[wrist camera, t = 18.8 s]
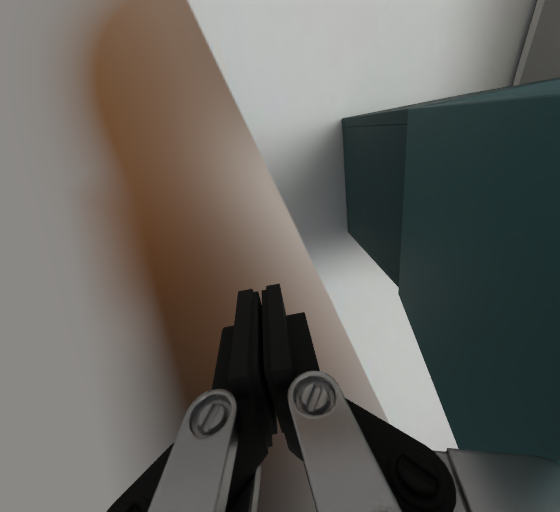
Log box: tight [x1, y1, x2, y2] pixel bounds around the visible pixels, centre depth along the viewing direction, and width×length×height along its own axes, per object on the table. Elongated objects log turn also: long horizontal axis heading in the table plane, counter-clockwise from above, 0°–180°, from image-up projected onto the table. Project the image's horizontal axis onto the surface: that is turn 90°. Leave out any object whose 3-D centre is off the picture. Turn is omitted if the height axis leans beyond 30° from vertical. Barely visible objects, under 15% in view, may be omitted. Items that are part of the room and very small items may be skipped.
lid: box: [398, 90, 560, 464], centre depth 11 cm, size 13×13×1 cm
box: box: [342, 77, 560, 287], centre depth 23 cm, size 13×13×13 cm
